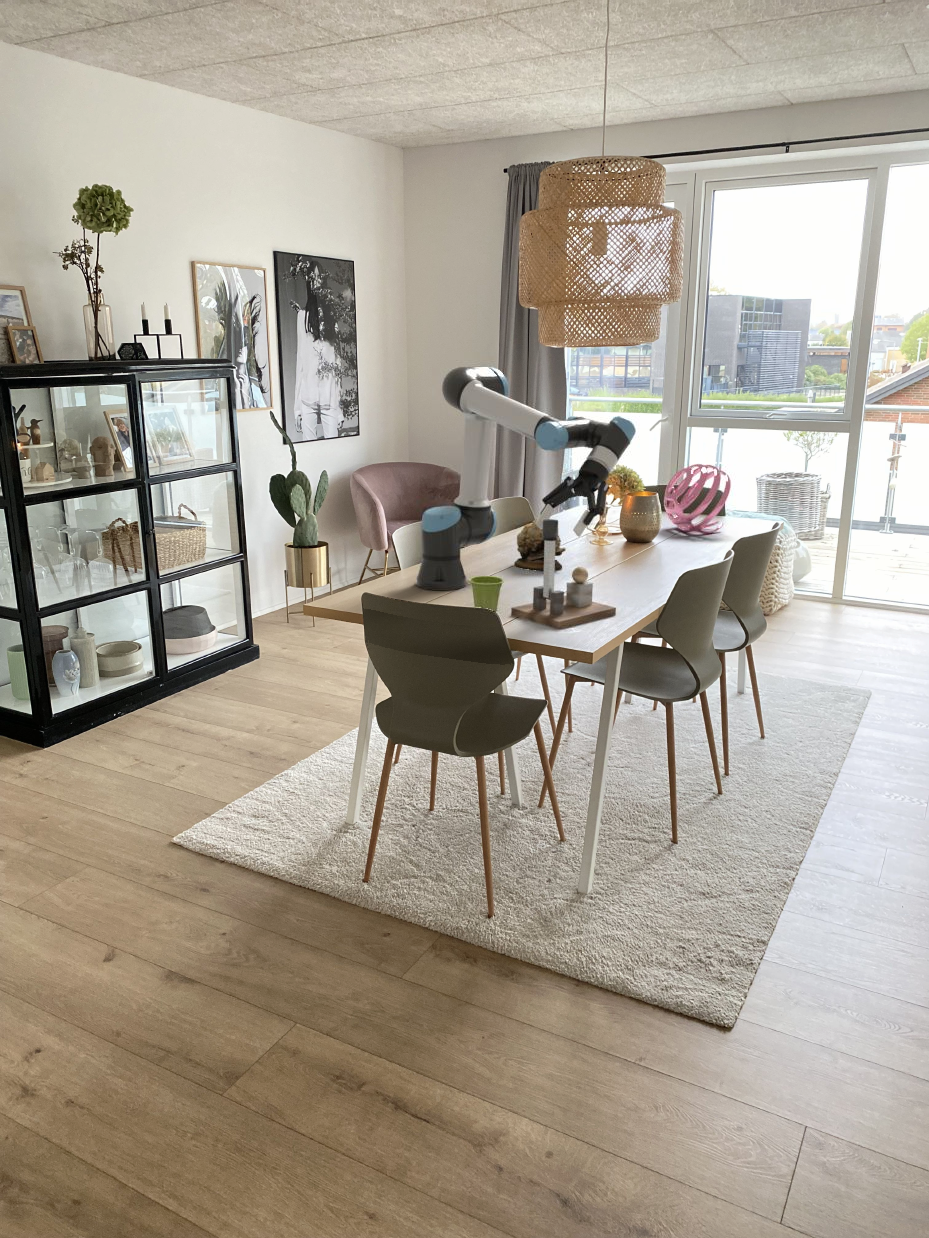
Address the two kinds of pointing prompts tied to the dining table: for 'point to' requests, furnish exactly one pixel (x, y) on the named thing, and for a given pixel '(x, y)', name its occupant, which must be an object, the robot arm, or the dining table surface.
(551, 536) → the lever
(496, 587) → the plant pot
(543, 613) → the base
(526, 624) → the dining table surface
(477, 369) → the robot arm
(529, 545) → the brown lumpy mound
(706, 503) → the spiral basket
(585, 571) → the wooden ball
